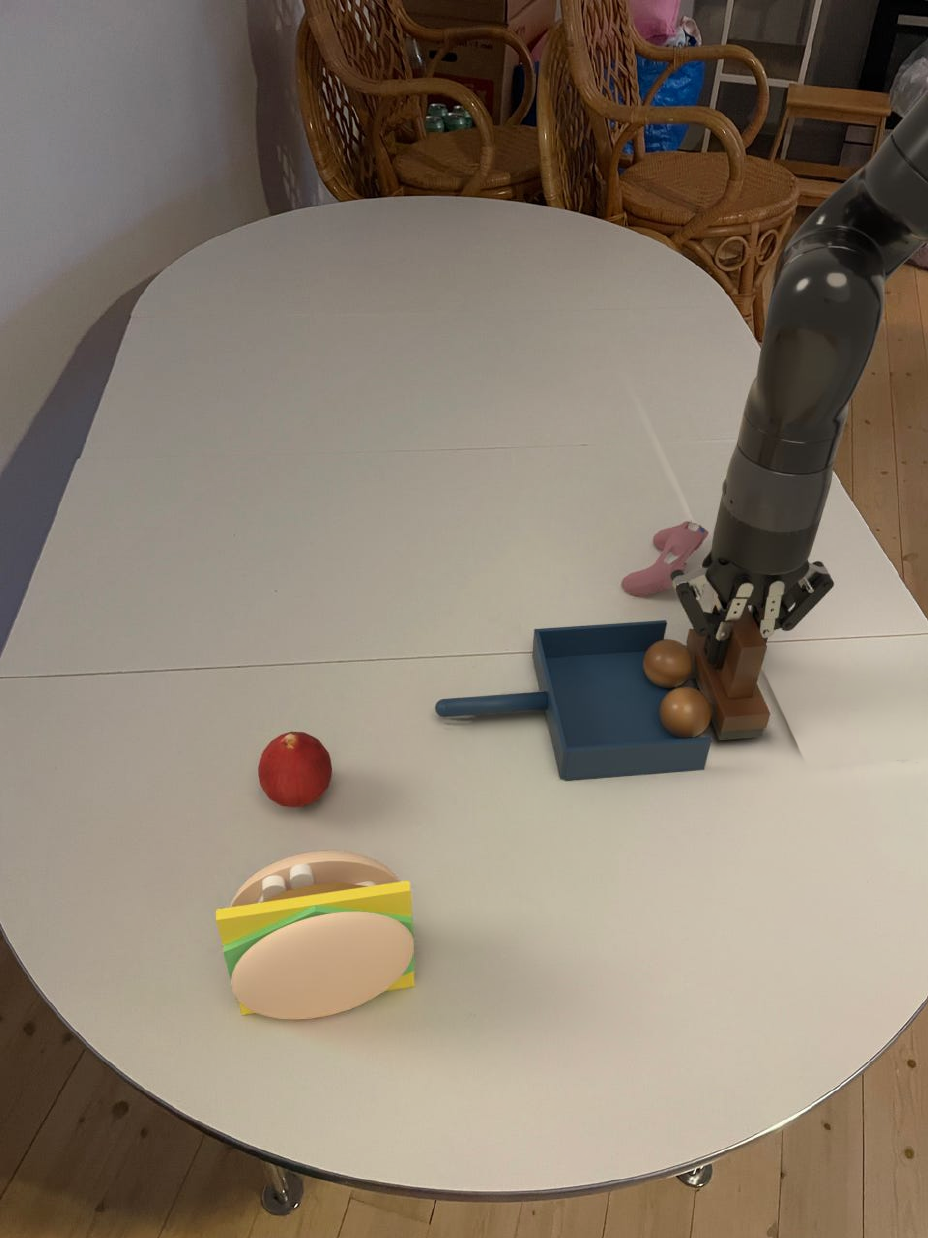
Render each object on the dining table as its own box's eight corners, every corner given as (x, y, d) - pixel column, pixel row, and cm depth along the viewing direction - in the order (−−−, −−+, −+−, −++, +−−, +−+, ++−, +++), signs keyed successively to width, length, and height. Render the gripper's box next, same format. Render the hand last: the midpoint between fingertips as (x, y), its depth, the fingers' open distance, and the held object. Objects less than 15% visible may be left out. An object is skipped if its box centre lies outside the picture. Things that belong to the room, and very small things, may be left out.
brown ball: (641, 630, 94) (635, 665, 97) (653, 664, 91) (646, 699, 94) (689, 627, 95) (681, 662, 98) (702, 661, 91) (693, 696, 94)
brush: (725, 649, 97) (744, 575, 91) (763, 737, 89) (786, 663, 83) (683, 652, 97) (699, 578, 91) (718, 741, 89) (738, 666, 83)
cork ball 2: (702, 671, 90) (652, 682, 90) (717, 709, 87) (665, 720, 87) (704, 705, 93) (655, 715, 93) (718, 742, 90) (667, 753, 90)
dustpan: (660, 649, 99) (666, 619, 97) (704, 770, 88) (711, 740, 86) (428, 665, 97) (427, 635, 95) (443, 791, 86) (443, 761, 84)
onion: (273, 768, 88) (262, 703, 83) (341, 774, 88) (334, 709, 82) (256, 824, 84) (243, 759, 78) (327, 831, 83) (319, 766, 78)
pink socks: (650, 617, 105) (689, 580, 99) (614, 588, 105) (652, 549, 100) (685, 563, 111) (724, 526, 106) (652, 536, 111) (689, 497, 106)
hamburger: (402, 912, 78) (397, 813, 70) (419, 1016, 72) (415, 921, 64) (239, 937, 76) (215, 839, 68) (242, 1046, 70) (216, 953, 62)
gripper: (697, 533, 76) (663, 698, 87) (880, 523, 77) (823, 687, 88) (670, 475, 81) (642, 637, 93) (842, 466, 82) (792, 627, 94)
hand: (730, 661), depth 90 cm, fingers closed on brush, 2 cm apart
